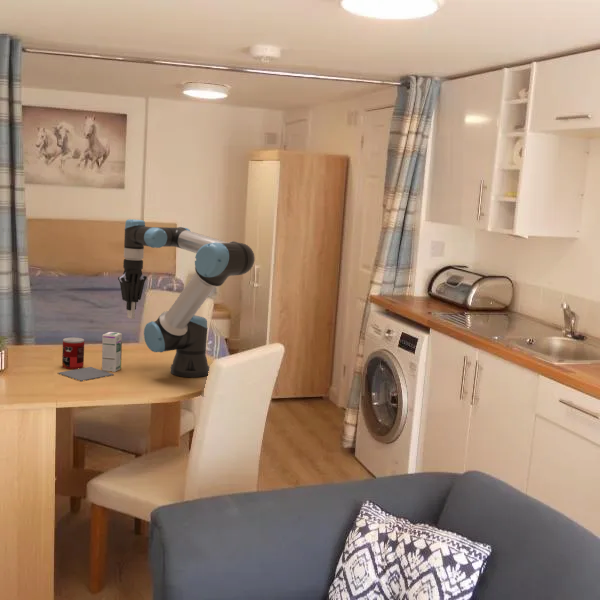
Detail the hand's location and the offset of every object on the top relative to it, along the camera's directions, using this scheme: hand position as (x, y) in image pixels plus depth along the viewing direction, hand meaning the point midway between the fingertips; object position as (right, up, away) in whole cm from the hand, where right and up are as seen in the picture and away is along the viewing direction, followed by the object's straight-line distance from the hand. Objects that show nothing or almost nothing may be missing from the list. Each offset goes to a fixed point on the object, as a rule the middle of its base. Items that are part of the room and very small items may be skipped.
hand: (130, 318), depth 291 cm
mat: (-14, -21, -14) cm, 29 cm away
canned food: (-22, -19, -5) cm, 29 cm away
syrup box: (-7, -20, -5) cm, 22 cm away
